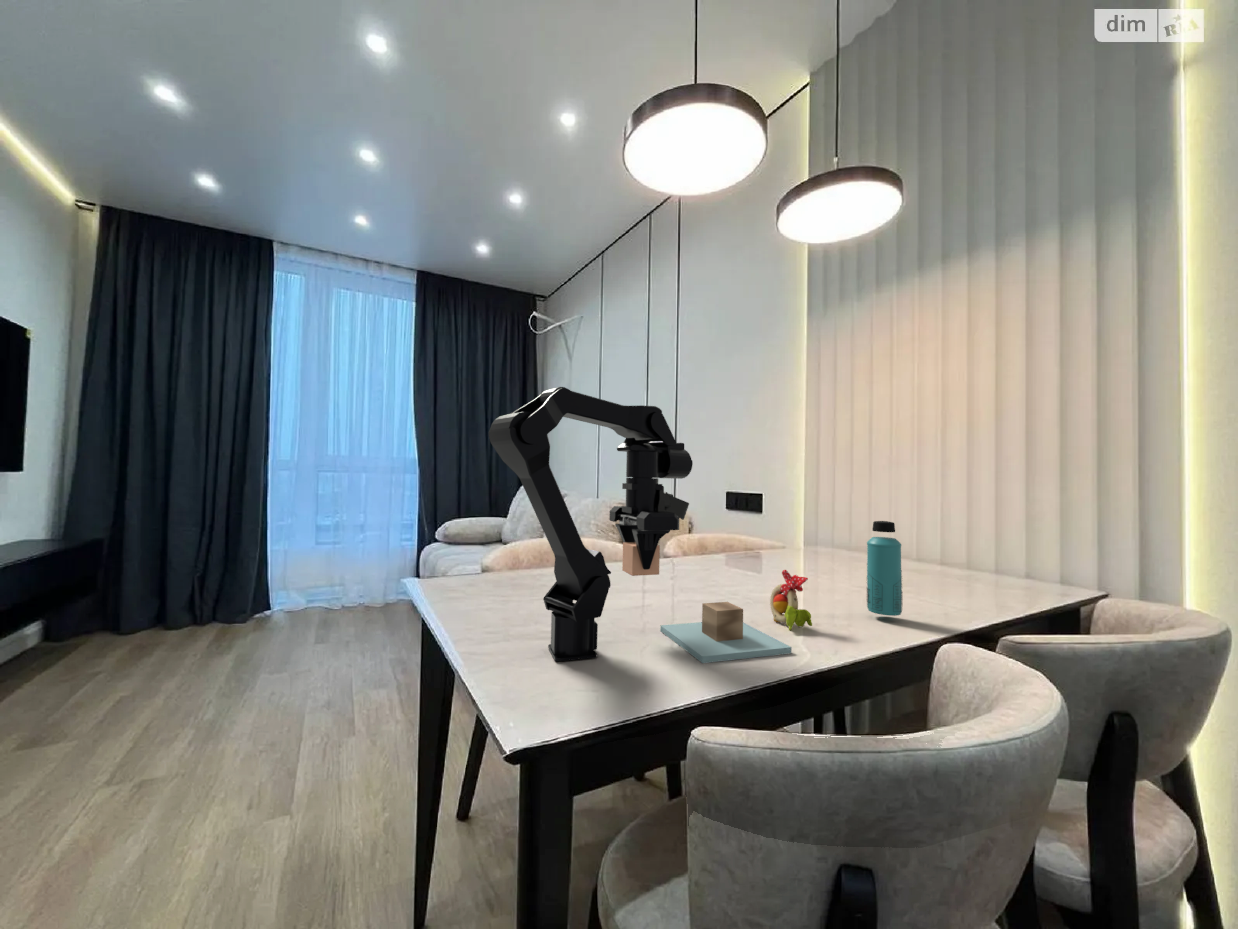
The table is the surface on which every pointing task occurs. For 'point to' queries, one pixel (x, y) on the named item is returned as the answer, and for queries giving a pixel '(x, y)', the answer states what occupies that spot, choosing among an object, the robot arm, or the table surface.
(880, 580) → the beverage bottle
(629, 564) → the terracotta cube
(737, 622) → the walnut cube
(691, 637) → the board
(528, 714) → the table surface
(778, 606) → the bird rattle
